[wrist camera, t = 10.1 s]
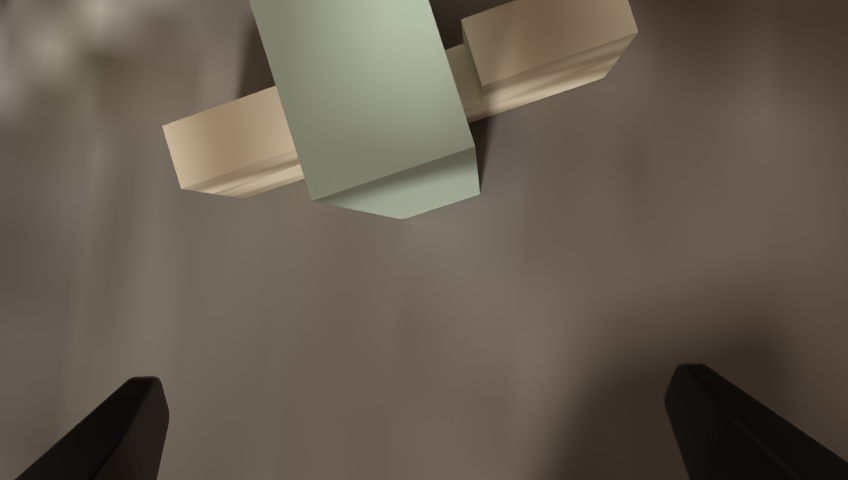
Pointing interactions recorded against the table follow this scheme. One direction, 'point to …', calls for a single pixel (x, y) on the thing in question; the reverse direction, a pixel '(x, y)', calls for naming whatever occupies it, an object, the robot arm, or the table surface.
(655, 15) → the table surface
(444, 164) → the tall green pillar
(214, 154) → the birch rail
